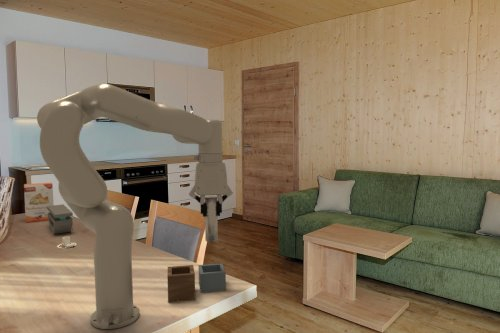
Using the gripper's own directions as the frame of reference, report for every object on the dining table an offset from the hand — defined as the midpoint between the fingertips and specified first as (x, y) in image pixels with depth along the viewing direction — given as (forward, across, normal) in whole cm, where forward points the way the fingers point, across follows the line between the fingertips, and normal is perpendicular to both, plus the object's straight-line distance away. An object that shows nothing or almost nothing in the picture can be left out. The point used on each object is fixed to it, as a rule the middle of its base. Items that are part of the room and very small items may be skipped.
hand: (211, 215), depth 122 cm
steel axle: (+8, 0, 0) cm, 8 cm away
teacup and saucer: (+24, -60, +54) cm, 84 cm away
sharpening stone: (+24, -68, +84) cm, 111 cm away
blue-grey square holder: (+24, 0, 0) cm, 24 cm away
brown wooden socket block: (+24, -10, -5) cm, 26 cm away
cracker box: (+24, -85, +109) cm, 141 cm away
